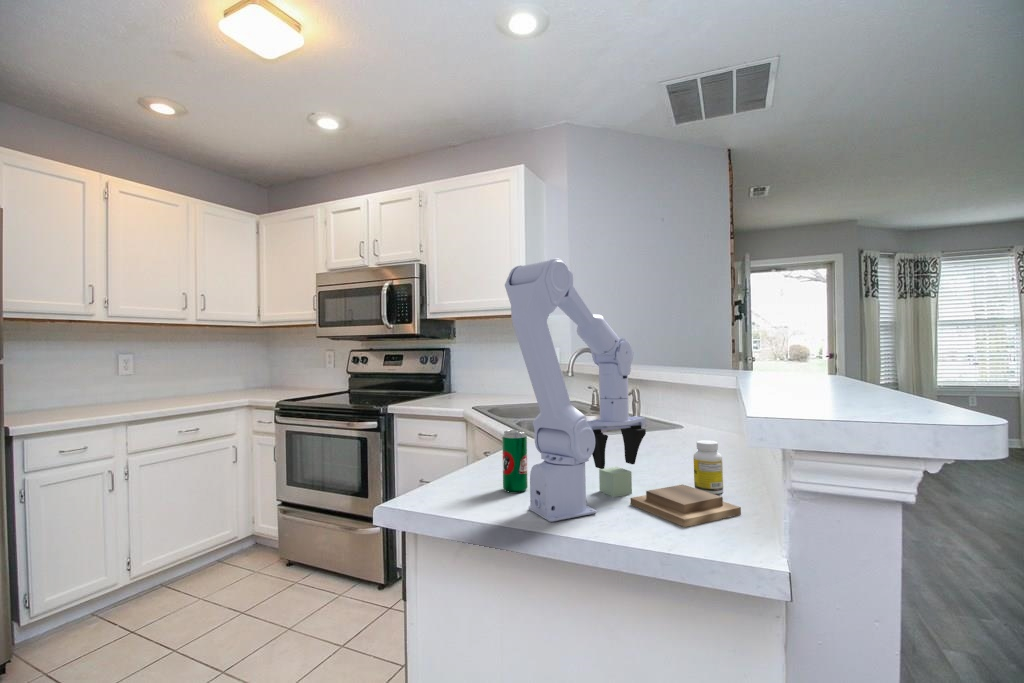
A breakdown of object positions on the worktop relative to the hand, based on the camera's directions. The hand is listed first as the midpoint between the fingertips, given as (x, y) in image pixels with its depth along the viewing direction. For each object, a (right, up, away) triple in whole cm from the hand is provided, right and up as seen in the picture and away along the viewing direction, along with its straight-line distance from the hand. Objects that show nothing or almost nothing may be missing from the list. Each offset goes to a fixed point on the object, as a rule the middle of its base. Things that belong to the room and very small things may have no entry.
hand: (615, 465), depth 94 cm
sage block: (0, -5, 0) cm, 5 cm away
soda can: (-20, -6, +2) cm, 21 cm away
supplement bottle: (+19, -5, 0) cm, 20 cm away
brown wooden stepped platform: (+10, -5, -11) cm, 15 cm away
